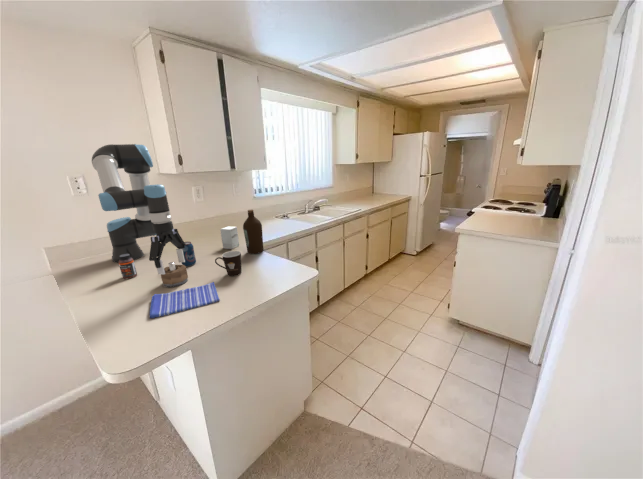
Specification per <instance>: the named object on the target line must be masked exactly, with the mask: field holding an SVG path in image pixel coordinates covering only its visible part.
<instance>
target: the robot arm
mask: <svg viewBox="0 0 643 479" xmlns="http://www.w3.org/2000/svg"><path fill="white" fill-rule="evenodd" d="M150 154H151V153H150V152H149V150H148V147H147V146H146V145H144V144H137V143H134V144H133V143H132V144H131V143H129V144H127V143H125V144H114V143H113V144H105V145H102V146H101V147H98V149H96V150H95V152H94V153H93V154H92V156H91V165H92V167H93V169H94V170H96V172H97V175H98V180H99V182H100V186H101V188H102V192H100V193H98V195H97V196H98V200H99V203H100V206H101V209H102V211H105V212H111V211H112V212H113V211H114V212H116V211H122V210H123V211H124V210H128V209H129V210H130V209H136V212H137V213H136V214H135V215H134V218H131V217H129V216H126V217H119V218H116V219H113V220H110V221H108V222H107V223H106V230H107V231H106V232H107V233H108V236H109V240H110V243H111V246H112V256H111V260H112V262H114V263H118V262H119V260H120V257H119V256H120V255H123V254H129V255H130V257H131V258H133V260H134V261H135V260H138V259H139V258H140V259H141V257H143V256H144V251H143V250H142V249H141V246H140V245H139V244H138V243H137V239H141V238H142V239H143V238H146V237H150V248H149V249H150V250H149V257H148V258H149V259H148V260H149V261H150V262H153V263H154V266H155V268H156V271H157V275H161V274H162V275H164V274H165V270H164V268H165V267H164V264H163V262H164V261H163V259H161V258H162V255H163V251H164V247H166V245H167V244H169V243H171V245H173V246H175V248H176V249H175V250H176V255H177V261H178V263H181V262H185V259H184V252H183V248H185V243H184V242H185V241H184V239H183V237H182V236H181V235H180V233H179V229H178V228H174V223H173V221H172V216H171V211H170V205H169V202H168V195H167V191H166V188H165V186H164V185H163V184H150V180H149V178H150V177H149V173H150V172H151V168H153V167H154V162H153V160H152V156H151V155H150ZM119 169H123V171H124V173H125V174H128V177H129V182H130V186H131V190H126V189H125V187H124V184H123V181H122V179H121V175H120V174H119V173H120V172H119Z"/></svg>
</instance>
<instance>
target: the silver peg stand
mask: <svg viewBox="0 0 643 479" xmlns="http://www.w3.org/2000/svg"><path fill="white" fill-rule="evenodd" d="M175 265H176V264H175V262H174V261H172V262H169V263H168V267H169V269H170V271H174V270H176V267H175ZM188 281H189V277H188V278H187V279H185V280H184V281H182V282H179V283H175V284H163V283H162V285H163V287H164V288H168V289H169V288H176V287H179V286H183V285H184V284H186V283H187V282H188Z"/></svg>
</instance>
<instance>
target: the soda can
mask: <svg viewBox="0 0 643 479" xmlns="http://www.w3.org/2000/svg"><path fill="white" fill-rule="evenodd" d="M184 243H185V248H183V252H184V259H185V262H180V263H181V265H185V267H186V266H187V267H192V266H194V265H195V264H196V262H197V259H196V254H195V249H194V245H193V243H192V242H191V241H184Z"/></svg>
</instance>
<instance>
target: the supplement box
mask: <svg viewBox="0 0 643 479" xmlns="http://www.w3.org/2000/svg"><path fill="white" fill-rule="evenodd" d="M219 230H220V238H221V243H222V248H223V249H227V250H234V249H236V248H237V247H238V246H240V242H239V233H238V227H237V226H226V227H222V228H220V229H219Z"/></svg>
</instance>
